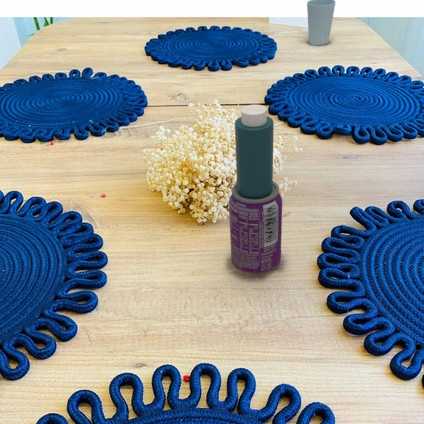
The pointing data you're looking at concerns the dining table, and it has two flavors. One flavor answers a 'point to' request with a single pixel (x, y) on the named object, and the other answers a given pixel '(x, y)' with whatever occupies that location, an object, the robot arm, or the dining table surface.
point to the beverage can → (255, 231)
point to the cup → (320, 20)
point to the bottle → (254, 152)
